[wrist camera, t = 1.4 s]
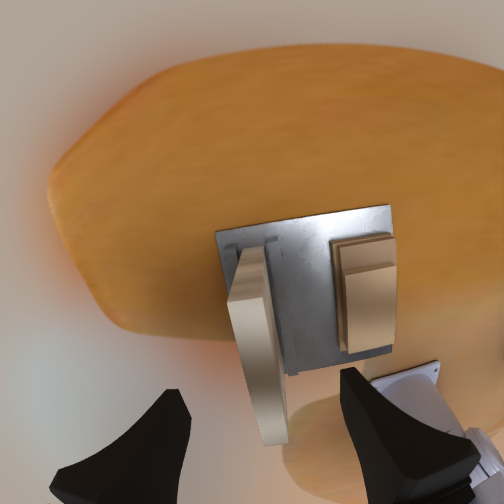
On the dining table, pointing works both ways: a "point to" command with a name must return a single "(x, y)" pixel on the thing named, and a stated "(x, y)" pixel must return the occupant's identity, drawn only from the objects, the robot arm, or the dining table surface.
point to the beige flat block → (259, 344)
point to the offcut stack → (365, 291)
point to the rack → (305, 279)
